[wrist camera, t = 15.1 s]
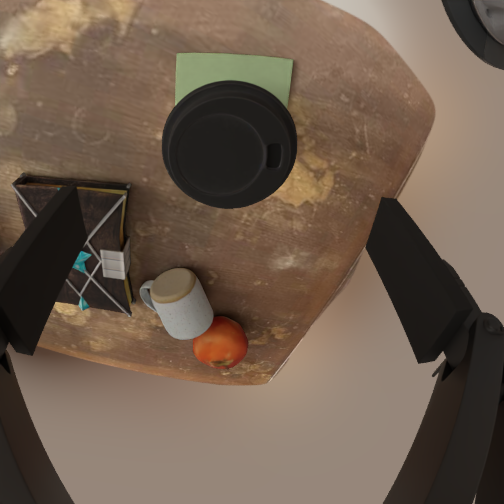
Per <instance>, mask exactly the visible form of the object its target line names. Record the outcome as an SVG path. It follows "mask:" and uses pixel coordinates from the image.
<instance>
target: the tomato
mask: <svg viewBox="0 0 504 504" xmlns="http://www.w3.org/2000/svg"><path fill="white" fill-rule="evenodd" d="M247 348H248V339H247V337H246V334H245V332H244V331H243V329H242V327H241V326H240V325H239V324H238V323H237V322H235V321H233V320H231V319H229V318H227V317H224V316H217V317H213V321H212V323H211V325H210V327H209V328H208V329H207V330H206V331H205V332H204V333H203V334H201V335H200V336H198V337H195V338H194V339H193V353H194V355H195V356H196V357H197V359H198V360H200V361H201V362H203V363H205V364H206V365H209V366H211V367H213V368H219V369H229V368H232V367H234V366H235V365H237V364H238V363H239V362H240V361H241V360H242V359H243V358H244V357H245V355H246V353H247Z"/></svg>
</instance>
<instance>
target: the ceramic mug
mask: <svg viewBox="0 0 504 504" xmlns="http://www.w3.org/2000/svg"><path fill="white" fill-rule="evenodd" d="M147 288H150V295H149V293H148V290H147ZM139 292H140V296H141V298H142V300H143V301H144V302H145V304H146V305H147V306H148V307H149V308H151V309H152V310H154V311H155V312H157V313H158V314H159V316H160V318H161V320H162V322H163V324H164V326H165V328H166V330H167V332H168V333H169V334H170V335H171V336H172V337H174V338H176V339H180V340H188V339H192V338H195V337H198V336H200V335H201V334H203V333H204V332H205V331H206V330H207V329H208V328H209V327H210V325H211V323H212V321H213V310H212V308H211V306H210V303H209V301H208V299H207V297H206V295H205V293H204V291H203V288H202V286H201V283H200V281H199V279H198V278H197V277H196V275H195V274H194V273H193V272H192V271H191V270H189V269H185V268H174V269H171V270H168V271H165V272H164V273H162V274H161V275H159V276H158V277H157V278H156V279H155V280H154V281H153V280H150V281H146V282H145V283H144V284H143V285H142V286H141V288H140V291H139ZM150 296H151V297H150Z"/></svg>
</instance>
